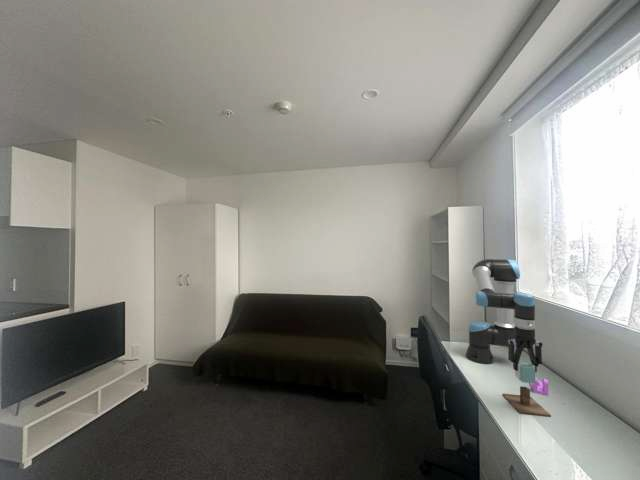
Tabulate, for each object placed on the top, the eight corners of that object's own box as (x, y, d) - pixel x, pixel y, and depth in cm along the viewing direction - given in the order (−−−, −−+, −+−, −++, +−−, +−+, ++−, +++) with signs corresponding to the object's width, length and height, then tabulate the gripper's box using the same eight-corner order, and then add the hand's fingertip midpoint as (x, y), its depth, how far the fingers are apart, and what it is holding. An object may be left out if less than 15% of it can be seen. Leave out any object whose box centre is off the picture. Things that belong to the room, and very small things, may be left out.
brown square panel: (502, 395, 126) (502, 379, 126) (529, 397, 124) (529, 381, 124) (519, 413, 112) (519, 395, 112) (550, 416, 110) (550, 398, 110)
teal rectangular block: (515, 376, 121) (515, 362, 121) (528, 377, 120) (527, 363, 120) (522, 382, 116) (522, 367, 116) (535, 383, 115) (535, 368, 115)
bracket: (548, 395, 126) (548, 381, 126) (533, 392, 129) (533, 378, 129) (541, 383, 137) (541, 370, 138) (528, 380, 140) (528, 367, 140)
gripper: (507, 328, 117) (507, 380, 116) (552, 331, 114) (553, 384, 113) (498, 323, 124) (498, 372, 124) (541, 326, 121) (541, 375, 121)
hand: (524, 377), depth 118 cm, fingers closed on teal rectangular block, 5 cm apart
